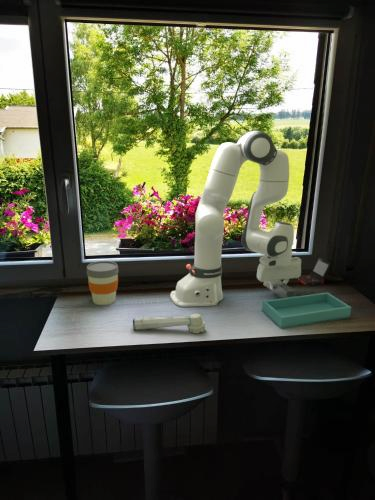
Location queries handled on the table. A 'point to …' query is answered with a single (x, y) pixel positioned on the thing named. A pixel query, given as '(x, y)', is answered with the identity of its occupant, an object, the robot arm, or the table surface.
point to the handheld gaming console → (316, 273)
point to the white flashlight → (171, 322)
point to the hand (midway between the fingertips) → (277, 288)
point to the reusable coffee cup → (103, 281)
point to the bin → (305, 310)
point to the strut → (281, 289)
